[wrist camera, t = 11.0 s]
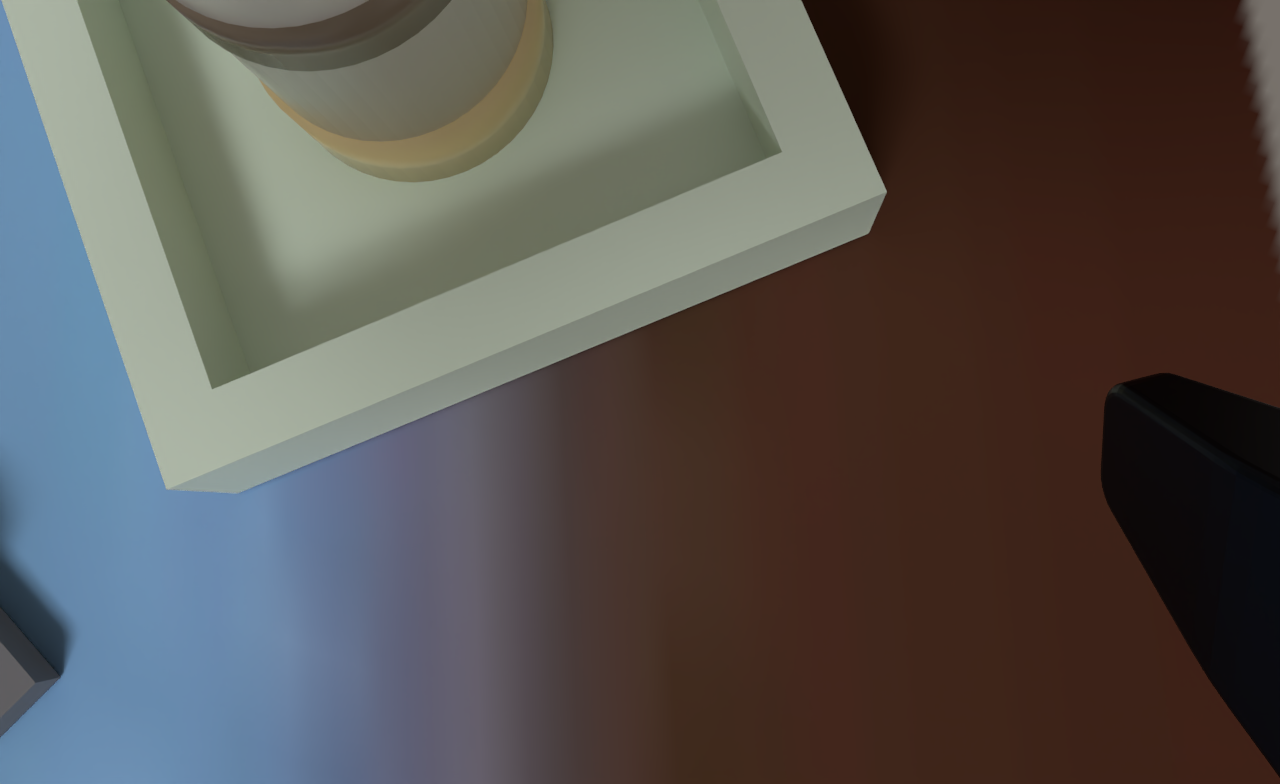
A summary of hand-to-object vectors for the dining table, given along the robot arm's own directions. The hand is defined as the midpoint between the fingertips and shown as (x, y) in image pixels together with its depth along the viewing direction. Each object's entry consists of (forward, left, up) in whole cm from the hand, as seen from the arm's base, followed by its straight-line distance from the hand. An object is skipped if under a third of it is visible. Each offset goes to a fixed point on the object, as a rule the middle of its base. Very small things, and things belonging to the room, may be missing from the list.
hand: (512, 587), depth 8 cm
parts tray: (+7, +3, -8) cm, 11 cm away
